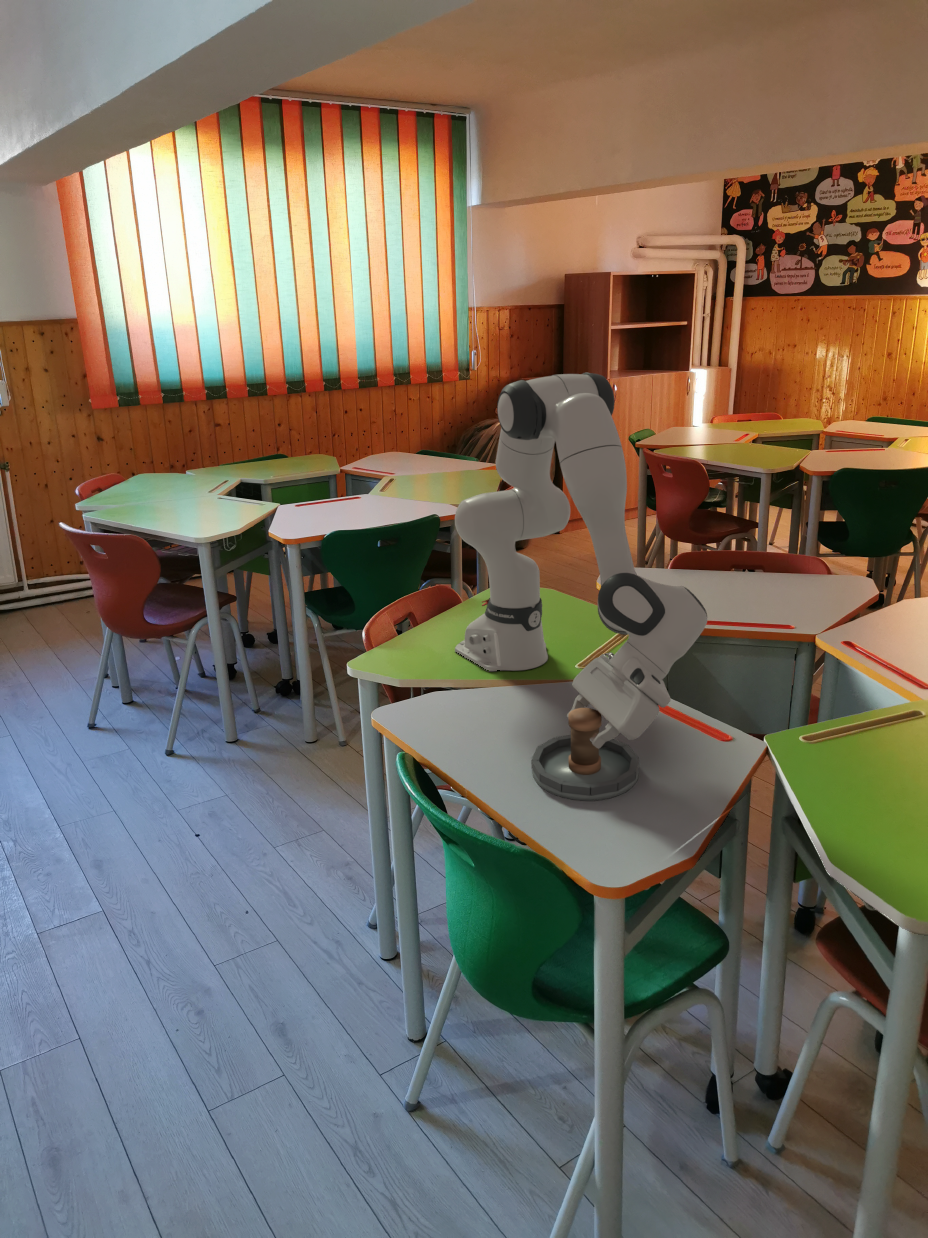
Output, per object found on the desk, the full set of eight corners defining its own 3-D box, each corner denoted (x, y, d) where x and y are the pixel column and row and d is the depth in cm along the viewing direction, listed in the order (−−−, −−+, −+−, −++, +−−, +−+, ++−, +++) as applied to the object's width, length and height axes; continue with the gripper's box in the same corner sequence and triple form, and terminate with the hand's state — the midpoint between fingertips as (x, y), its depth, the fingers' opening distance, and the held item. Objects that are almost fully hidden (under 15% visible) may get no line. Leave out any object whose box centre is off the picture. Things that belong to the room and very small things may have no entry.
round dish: (510, 773, 155) (510, 760, 154) (578, 735, 167) (578, 723, 166) (592, 813, 143) (593, 800, 142) (659, 770, 154) (660, 757, 153)
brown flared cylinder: (561, 767, 155) (561, 715, 151) (582, 755, 158) (582, 704, 155) (586, 778, 151) (587, 726, 147) (607, 766, 154) (608, 714, 151)
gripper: (596, 639, 159) (546, 697, 160) (652, 685, 140) (595, 750, 141) (618, 658, 162) (569, 715, 163) (676, 705, 143) (620, 769, 144)
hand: (581, 732), depth 152 cm, fingers open, 8 cm apart
